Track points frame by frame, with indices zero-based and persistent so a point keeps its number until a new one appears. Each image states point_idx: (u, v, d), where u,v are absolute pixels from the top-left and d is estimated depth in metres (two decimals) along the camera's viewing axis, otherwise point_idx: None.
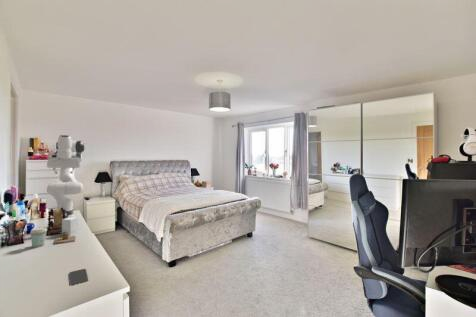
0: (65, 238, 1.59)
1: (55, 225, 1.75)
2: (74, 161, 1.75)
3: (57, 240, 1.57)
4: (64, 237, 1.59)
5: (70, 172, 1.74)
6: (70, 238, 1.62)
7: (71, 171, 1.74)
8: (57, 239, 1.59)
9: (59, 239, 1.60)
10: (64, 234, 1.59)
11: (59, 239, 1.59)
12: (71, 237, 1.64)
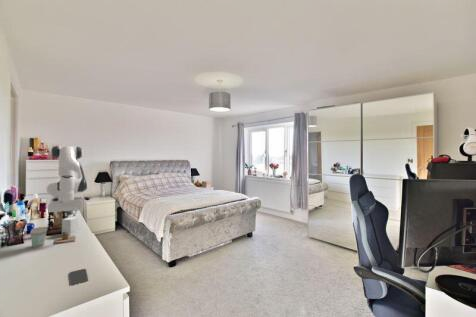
0: (65, 238, 1.59)
1: (55, 225, 1.75)
2: (77, 203, 1.63)
3: (57, 240, 1.57)
4: (64, 237, 1.59)
5: (73, 215, 1.62)
6: (70, 238, 1.62)
7: (74, 214, 1.63)
8: (57, 239, 1.59)
9: (59, 239, 1.60)
10: (64, 234, 1.59)
11: (59, 239, 1.59)
12: (71, 237, 1.64)
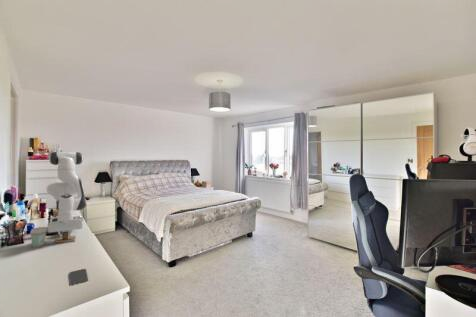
0: (65, 238, 1.59)
1: None
2: (76, 222, 1.63)
3: (57, 240, 1.57)
4: (64, 237, 1.59)
5: (68, 235, 1.61)
6: (70, 238, 1.62)
7: (69, 234, 1.61)
8: (57, 239, 1.59)
9: (59, 239, 1.60)
10: (64, 234, 1.59)
11: (59, 239, 1.59)
12: (71, 237, 1.64)
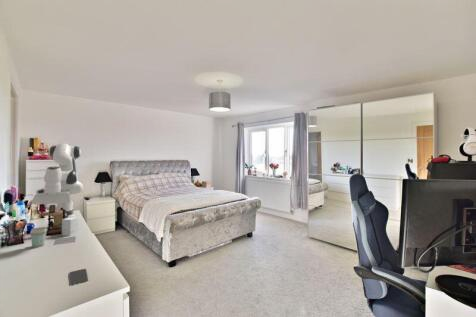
0: (52, 211, 1.53)
1: (55, 225, 1.75)
2: (64, 195, 1.57)
3: (43, 213, 1.51)
4: (51, 210, 1.53)
5: (55, 208, 1.55)
6: (57, 212, 1.56)
7: (56, 207, 1.55)
8: (44, 212, 1.53)
9: (46, 212, 1.54)
10: (51, 207, 1.53)
11: (45, 212, 1.53)
12: (58, 211, 1.58)
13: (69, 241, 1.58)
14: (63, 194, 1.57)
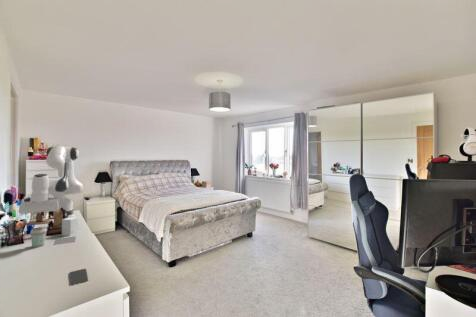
0: (39, 220, 1.48)
1: (55, 225, 1.75)
2: (52, 203, 1.52)
3: (30, 222, 1.46)
4: (38, 219, 1.48)
5: (42, 217, 1.50)
6: (45, 220, 1.51)
7: (43, 216, 1.50)
8: (30, 221, 1.48)
9: (32, 221, 1.49)
10: (38, 216, 1.48)
11: (32, 221, 1.48)
12: (46, 220, 1.53)
13: (69, 241, 1.58)
14: (51, 202, 1.52)
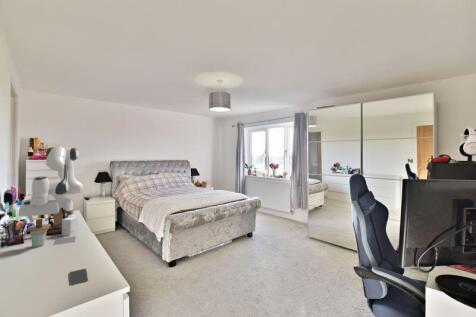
0: (39, 226, 1.48)
1: (55, 225, 1.75)
2: (51, 206, 1.52)
3: (30, 228, 1.46)
4: (38, 225, 1.48)
5: (45, 219, 1.51)
6: (44, 226, 1.51)
7: (46, 218, 1.51)
8: (30, 227, 1.48)
9: (32, 227, 1.49)
10: (38, 222, 1.48)
11: (32, 227, 1.48)
12: (46, 225, 1.53)
13: (69, 241, 1.58)
14: (51, 205, 1.52)
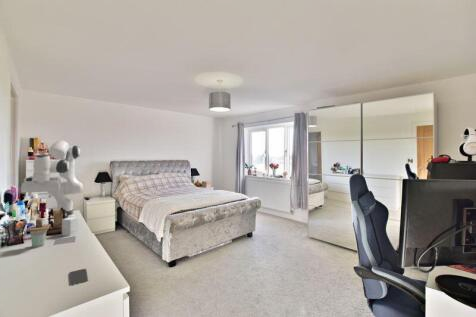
0: (39, 226, 1.48)
1: (55, 225, 1.75)
2: (53, 184, 1.55)
3: (30, 228, 1.46)
4: (38, 225, 1.48)
5: (49, 196, 1.54)
6: (44, 226, 1.51)
7: (50, 195, 1.55)
8: (30, 227, 1.48)
9: (32, 227, 1.49)
10: (38, 222, 1.48)
11: (32, 227, 1.48)
12: (46, 225, 1.53)
13: (69, 241, 1.58)
14: (52, 183, 1.55)
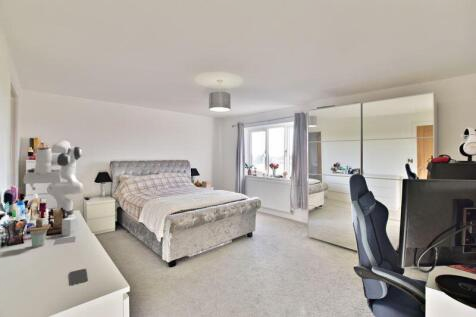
0: (39, 226, 1.48)
1: (55, 225, 1.75)
2: (54, 176, 1.61)
3: (30, 228, 1.46)
4: (38, 225, 1.48)
5: (50, 188, 1.60)
6: (44, 226, 1.51)
7: (51, 186, 1.60)
8: (30, 227, 1.48)
9: (32, 227, 1.49)
10: (38, 222, 1.48)
11: (32, 227, 1.48)
12: (46, 225, 1.53)
13: (69, 241, 1.58)
14: (53, 174, 1.60)
